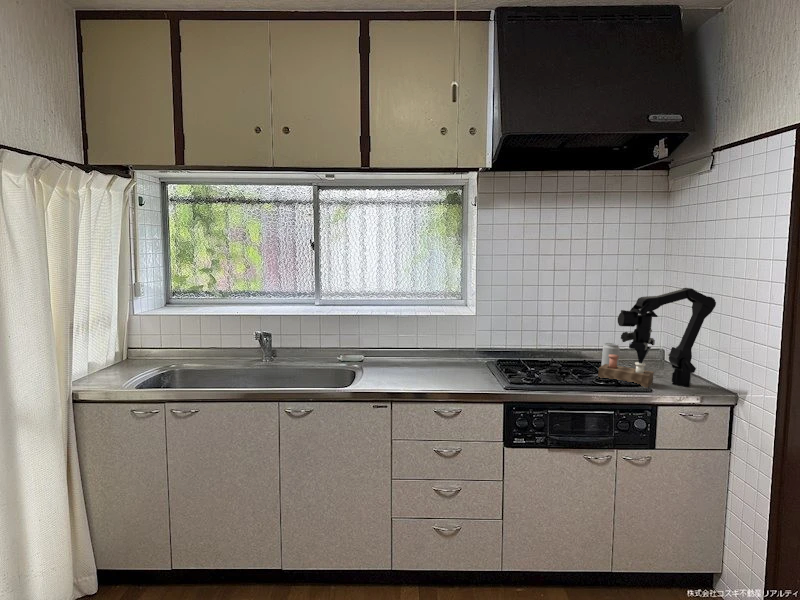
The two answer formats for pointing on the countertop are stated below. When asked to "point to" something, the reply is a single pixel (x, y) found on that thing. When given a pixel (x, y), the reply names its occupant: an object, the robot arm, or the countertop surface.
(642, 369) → the cream plug
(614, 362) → the brick plug
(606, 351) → the can
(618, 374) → the socket board
